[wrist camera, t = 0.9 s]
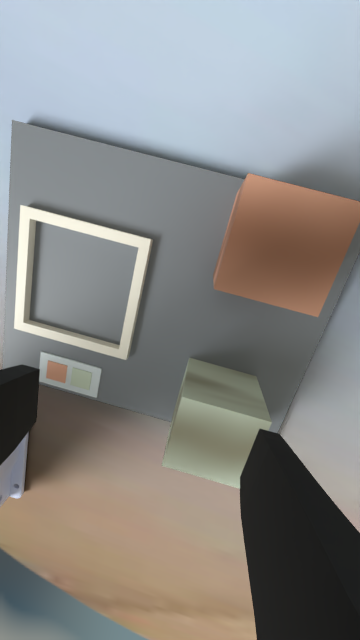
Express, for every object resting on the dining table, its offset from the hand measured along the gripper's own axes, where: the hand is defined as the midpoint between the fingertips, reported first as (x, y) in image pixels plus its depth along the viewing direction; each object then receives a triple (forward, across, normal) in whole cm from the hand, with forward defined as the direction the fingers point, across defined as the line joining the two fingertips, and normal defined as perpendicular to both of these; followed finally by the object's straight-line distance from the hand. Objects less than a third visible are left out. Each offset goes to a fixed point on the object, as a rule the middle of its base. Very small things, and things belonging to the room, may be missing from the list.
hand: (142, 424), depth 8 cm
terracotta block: (+9, -4, -6) cm, 11 cm away
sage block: (+9, -3, +4) cm, 10 cm away
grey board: (+10, +2, -1) cm, 10 cm away
